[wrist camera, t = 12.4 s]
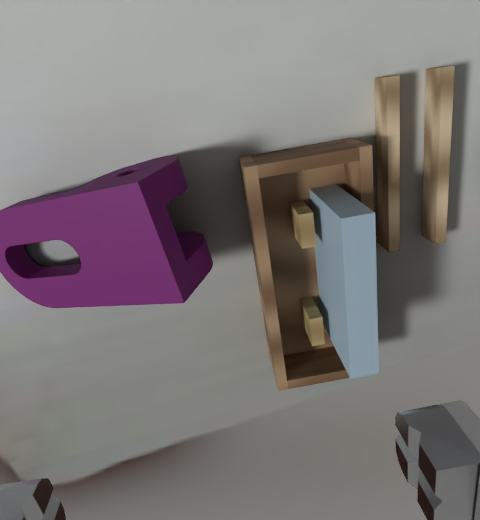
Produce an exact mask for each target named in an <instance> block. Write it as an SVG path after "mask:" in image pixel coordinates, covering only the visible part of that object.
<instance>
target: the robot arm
mask: <svg viewBox="0 0 480 520" xmlns="http://www.w3.org/2000/svg"><path fill="white" fill-rule="evenodd" d="M395 425H396V427H397V429H398V431H399V433H400V434H399V435H398V436H397V438H396V439H395V443H396V453H397V457H398V461H399V464H400V467H401V469H402V472H403V474H404V476H405V478H406V480H407V482H408V483H409V484H411V485H412V486H414V487H415V488H417V489H418V500H417V501H418V503H419V505H420V507H421V509H422V510H423V513H424V515H425V516H426V518H427V520H480V419H479V418H478V417H477V415H476V414H475V413H474V412H473V410H472V409H471V408H470V407H469V406H468V405H467V403H465V402H464V401H462V400H460V401H454V402H449V403H444V404H440V405H432V406H427V407H422V408H417V409H412V410H407V411H402V412H398V413H397V414H396V417H395ZM53 489H54V487H53V486H52V484H51V482H50V480H49V479H48V478H42V479H36V480H30V481H23V482H17V483H11V484H4V485H0V520H66V517H65V511H64V507H63V506H62V503H61V501H59V500H57V499H56V498H54V497H52V496H51V495H52V492H53Z"/></svg>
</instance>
